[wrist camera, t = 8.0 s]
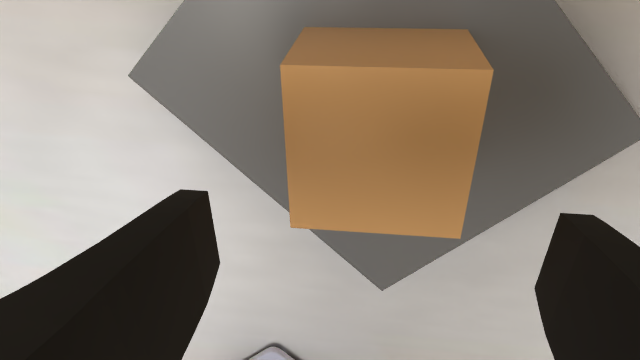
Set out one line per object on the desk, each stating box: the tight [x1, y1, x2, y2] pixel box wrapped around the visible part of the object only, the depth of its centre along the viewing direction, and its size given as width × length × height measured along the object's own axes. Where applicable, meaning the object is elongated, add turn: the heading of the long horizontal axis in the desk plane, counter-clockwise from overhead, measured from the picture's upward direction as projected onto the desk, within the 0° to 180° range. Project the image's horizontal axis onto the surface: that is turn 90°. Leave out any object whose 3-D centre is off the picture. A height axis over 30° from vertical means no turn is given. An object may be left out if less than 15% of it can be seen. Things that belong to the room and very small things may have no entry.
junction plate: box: [128, 0, 640, 291], centre depth 15 cm, size 14×12×4 cm
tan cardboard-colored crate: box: [280, 27, 494, 239], centre depth 14 cm, size 5×5×4 cm
